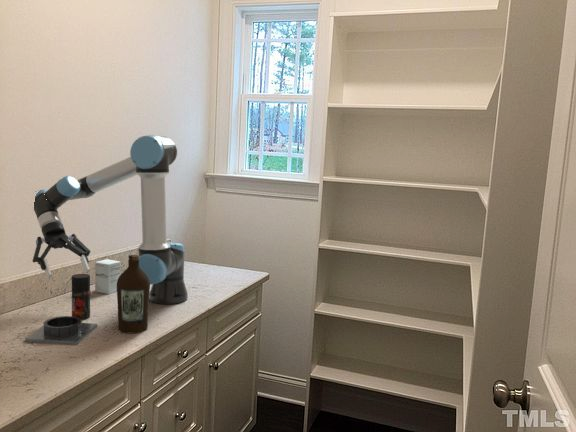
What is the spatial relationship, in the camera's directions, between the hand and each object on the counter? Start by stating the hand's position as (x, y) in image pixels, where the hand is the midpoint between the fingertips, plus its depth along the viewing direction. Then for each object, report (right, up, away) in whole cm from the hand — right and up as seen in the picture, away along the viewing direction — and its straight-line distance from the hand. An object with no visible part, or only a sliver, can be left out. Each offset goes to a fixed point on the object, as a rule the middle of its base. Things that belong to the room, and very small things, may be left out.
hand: (69, 274), depth 182 cm
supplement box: (+3, -11, +30) cm, 32 cm away
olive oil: (+26, -17, -11) cm, 33 cm away
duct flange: (+6, -17, -19) cm, 26 cm away
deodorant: (+6, -15, -3) cm, 16 cm away
